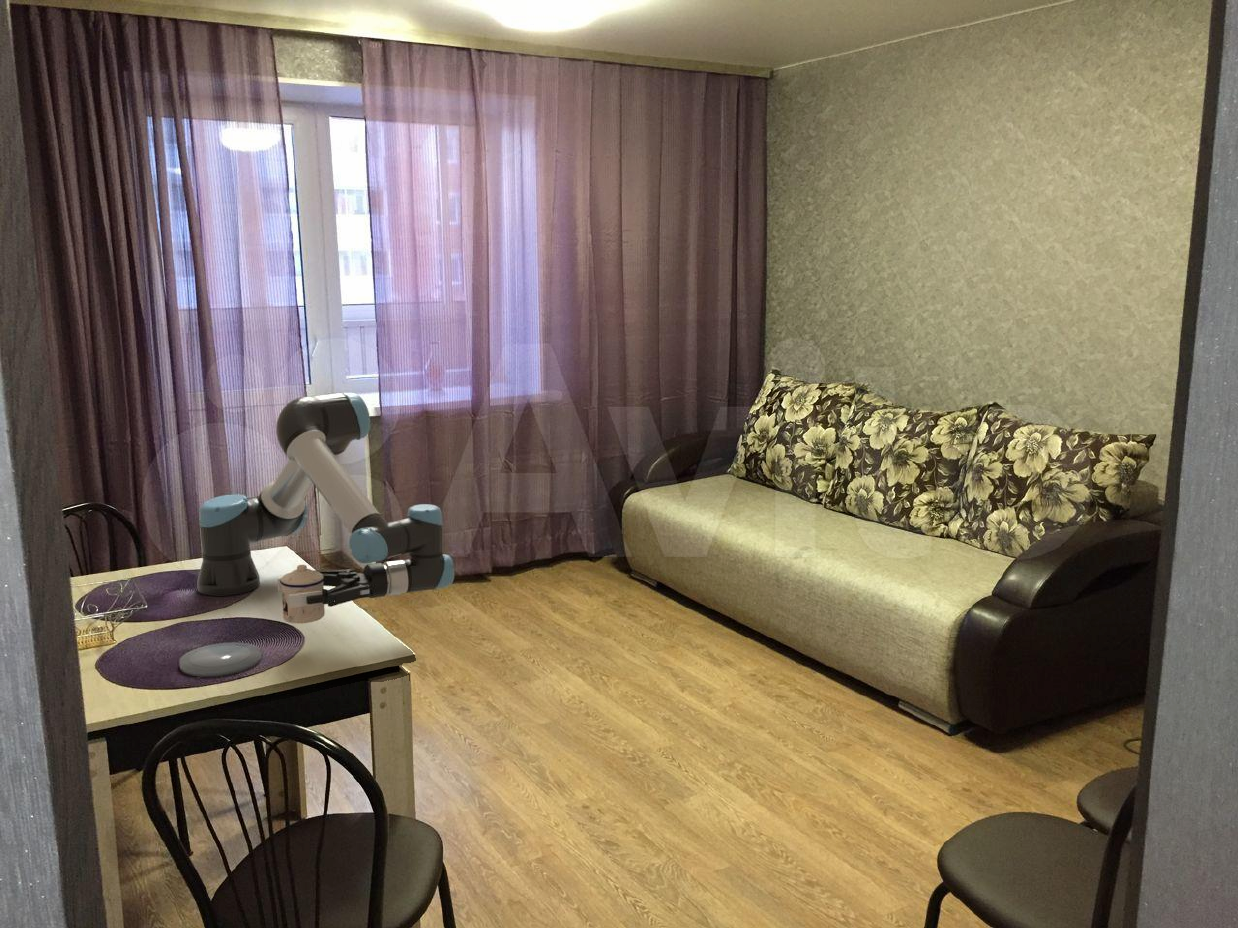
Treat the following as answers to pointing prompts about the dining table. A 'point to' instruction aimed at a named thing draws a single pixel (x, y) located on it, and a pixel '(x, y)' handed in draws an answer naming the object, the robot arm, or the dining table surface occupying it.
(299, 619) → the teacup with lid
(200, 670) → the dish
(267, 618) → the dining table surface
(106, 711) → the dining table surface
